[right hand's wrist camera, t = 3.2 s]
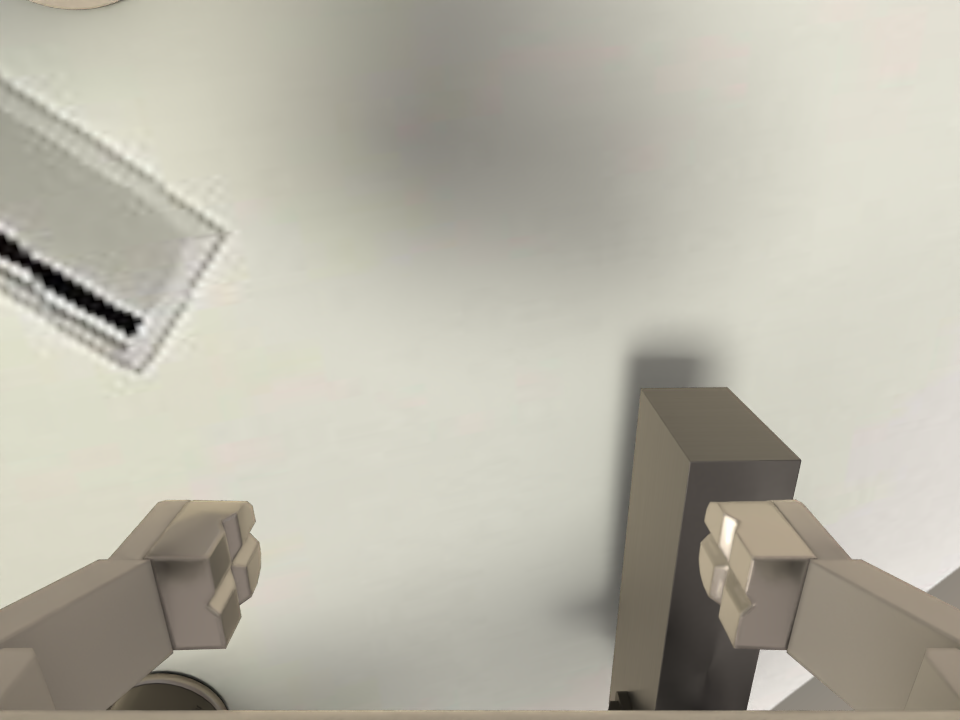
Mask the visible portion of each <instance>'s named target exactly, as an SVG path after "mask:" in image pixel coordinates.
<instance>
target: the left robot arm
mask: <svg viewBox="0 0 960 720" xmlns="http://www.w3.org/2000/svg"><path fill="white" fill-rule="evenodd" d="M106 710H162V711H168V710H227V709H226V707H225V705H224V704H223V702H222V701H221V699H220V698H219V697H218V696H217V695H216V694H215V693H214V692H213V691H212V690H210V689H209V688H208V687H206V686H205V685H203V684H201V683H199V682H197V681H195V680H193V679H190V678H187V677H184V676H180V675H174V674H165V673H158V674H149V675H147V676H145V677H144V678H143V679H142V680H141V681H140V682H138V683H137V684H136V685H135V686H134V687H132V688H131V689H130V690H129V691H128V692H127V693H125V694H124V695H123V696H122V697H121V698H119V699H118V700H117V701H116V702H115V703H113V704H112V705H111V706H110V707H109V708H108V709H106ZM608 711H633V708H632V705H631V701H630V698H629V694H628V692H627V691H616V694H615V701H610V703H609V709H608Z"/></svg>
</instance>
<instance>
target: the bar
mask: <svg viewBox="0 0 960 720" xmlns="http://www.w3.org/2000/svg"><path fill="white" fill-rule="evenodd" d="M800 464H801V459H800V458H799V457H798V456H797V455H796V454H795V453H794V452H793V451H792V450H791V449H790V448H789V447H788V446H787V445H785V444H784V443H783V442H782V441H781V440H780V439H779V438H778V437H777V436H776V435H775V434H774V433H773V432H772V431H771V430H770V429H769V428H768V427H767V426H766V425H765V424H764V423H763V422H762V421H761V420H760V419H759V418H758V417H757V416H756V415H755V414H754V413H753V412H752V411H751V410H750V409H749V408H748V407H747V406H746V405H745V404H744V403H743V402H742V401H741V400H740V399H739V398H738V397H737V396H736V395H735V394H734V393H733V392H732V391H731V390H730V389H729V388H728V387H706V388H641V392H640V402H639V411H638V421H637V431H636V441H635V451H634V461H633V470H632V480H631V490H630V500H629V510H628V520H627V530H626V539H625V549H624V559H623V569H622V579H621V589H620V599H619V608H618V618H617V628H616V638H615V648H614V658H613V667H612V677H611V687H610V697H609V703H610V701H615V694H616V691H627V692H628V694H629V698H630V701H631V705H632V708H633V711H695V710H747V705H748V701H749V696H750V692H751V687H752V683H753V678H754V674H755V669H756V664H757V660H758V655H759V651H760V649H734V647H733V645H732V643H731V641H730V639H729V637H728V635H727V633H726V631H725V629H724V627H723V625H722V623H721V621H720V619H719V611H720V605H719V604H718V603H717V602H715V601H714V600H712V599H711V598H710V597H708V594H707V592H706V590H705V588H704V586H703V583H702V579H701V576H700V568H699V552H700V544H701V541H702V540H703V539H704V538H705V537H706V536H707V535H708V534H709V533H710V531H709V529H708V527H707V526H706V524H705V522H704V520H705V514H706V509H707V507H708V505H709V503H710V502H741V501H767V500H793V496H794V492H795V487H796V482H797V478H798V473H799V469H800Z"/></svg>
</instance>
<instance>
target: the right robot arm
mask: <svg viewBox="0 0 960 720" xmlns="http://www.w3.org/2000/svg"><path fill="white" fill-rule="evenodd" d="M28 1H31V2H34V3H37V4H40V5H44V6H49V7H53V8H60V9H73V10H78V9H91V8H98V7H102V6H106V5H109V4H112V3H115V2H118V1H120V0H28ZM255 522H256V520H255V515H254V510H253V506H252V505H251V504H250V503H249V502H248V501H214V500H193V501H191V500H164V501H161V502H158V503H157V504H156V505H155V506H154V508H153V509H152V510H151V511H150V512H149V513H148V514H147V516H146V517H145V518H144V519H143V520H142V521H141V522H140V523H139V525H138V526H137V527H136V528H135V529H134V530H133V531H132V533H131V534H130V535H129V536H128V537H127V538H126V539H125V541H124V542H123V543H122V544H121V545H120V546H119V547H118V549H117V550H116V551H115V552H114V553H113V554H112V555H111V557H110V558H109V559H105V560H97V561H95V562H93V563H91V564H89V565H87V566H85V567H83V568H81V569H79V570H77V571H75V572H73V573H71V574H69V575H67V576H65V577H63V578H61V579H59V580H57V581H55V582H53V583H51V584H49V585H48V586H46V587H44V588H42V589H40V590H38V591H36V592H34V593H32V594H30V595H28V596H26V597H24V598H22V599H20V600H18V601H16V602H14V603H12V604H10V605H8V606H6V607H4V608H2V609H0V720H960V610H959V609H958V608H956V607H954V606H952V605H950V604H948V603H946V602H944V601H942V600H940V599H938V598H936V597H934V596H932V595H930V594H928V593H926V592H924V591H922V590H920V589H918V588H916V587H914V586H912V585H910V584H908V583H906V582H904V581H903V580H901V579H899V578H897V577H895V576H893V575H891V574H889V573H887V572H885V571H883V570H881V569H879V568H877V567H875V566H873V565H871V564H869V563H867V562H865V561H863V560H855V559H851V558H850V557H849V555H848V554H847V553H846V552H845V551H844V550H843V549H842V547H841V546H840V545H839V544H838V543H837V542H836V541H835V539H834V538H833V537H832V536H831V535H830V534H829V533H828V532H827V530H826V529H825V528H824V527H823V526H822V525H821V524H820V522H819V521H818V520H817V519H816V518H815V517H814V516H813V514H812V513H811V512H810V511H809V510H808V509H807V508H806V506H805V505H804V504H803V503H802V502H799V501H797V500H767V501H741V502H710V503H709V505H708V507H707V509H706V514H705V520H704V522H705V524H706V526H707V527H708V529H709V531H710V533H709V534H708V535H707V536H706V537H705V538H704V539H703V540H702V541H701V544H700V552H699V568H700V576H701V579H702V583H703V586H704V588H705V590H706V592H707V594H708V597H710V598H711V599H712V600H714V601H715V602H717V603H718V604H719V605H720V611H719V619H720V621H721V623H722V625H723V627H724V629H725V631H726V633H727V635H728V637H729V639H730V641H731V643H732V645H733V647H734V649H765V650H787V653H788V654H789V655H790V656H791V657H792V658H794V659H795V660H796V661H797V662H798V663H799V664H801V665H802V666H803V667H804V668H805V669H807V670H808V671H809V672H810V673H811V674H812V675H814V676H815V677H816V678H817V679H818V680H820V681H821V682H822V683H823V684H824V685H825V686H827V687H828V688H829V689H830V690H831V691H833V692H834V693H835V694H836V695H837V696H838V697H840V698H841V699H842V700H843V701H844V702H846V703H847V704H848V705H849V706H850V707H851V708H853V709H854V710H695V711H575V710H168V711H162V710H106V709H108V708H109V707H110V706H111V705H112V704H113V703H115V702H116V701H117V700H118V699H119V698H121V697H122V696H123V695H124V694H125V693H127V692H128V691H129V690H130V689H131V688H132V687H134V686H135V685H136V684H137V683H138V682H140V681H141V680H142V679H143V678H144V677H145V676H147V675H148V674H149V673H150V672H151V671H153V670H154V669H155V668H156V667H157V666H158V665H160V664H161V663H162V662H163V661H164V660H166V659H167V658H168V657H169V656H170V655H171V654H173V650H194V649H226V647H227V645H228V643H229V641H230V639H231V637H232V635H233V633H234V631H235V629H236V627H237V625H238V623H239V621H240V619H241V611H240V605H241V604H242V603H243V602H245V601H246V600H248V599H249V598H250V597H252V594H253V592H254V590H255V588H256V586H257V583H258V579H259V574H260V569H261V550H260V544H259V541H258V540H257V539H256V538H255V537H254V536H253V535H252V534H251V533H250V531H251V529H252V527H253V526H254V524H255Z"/></svg>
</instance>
